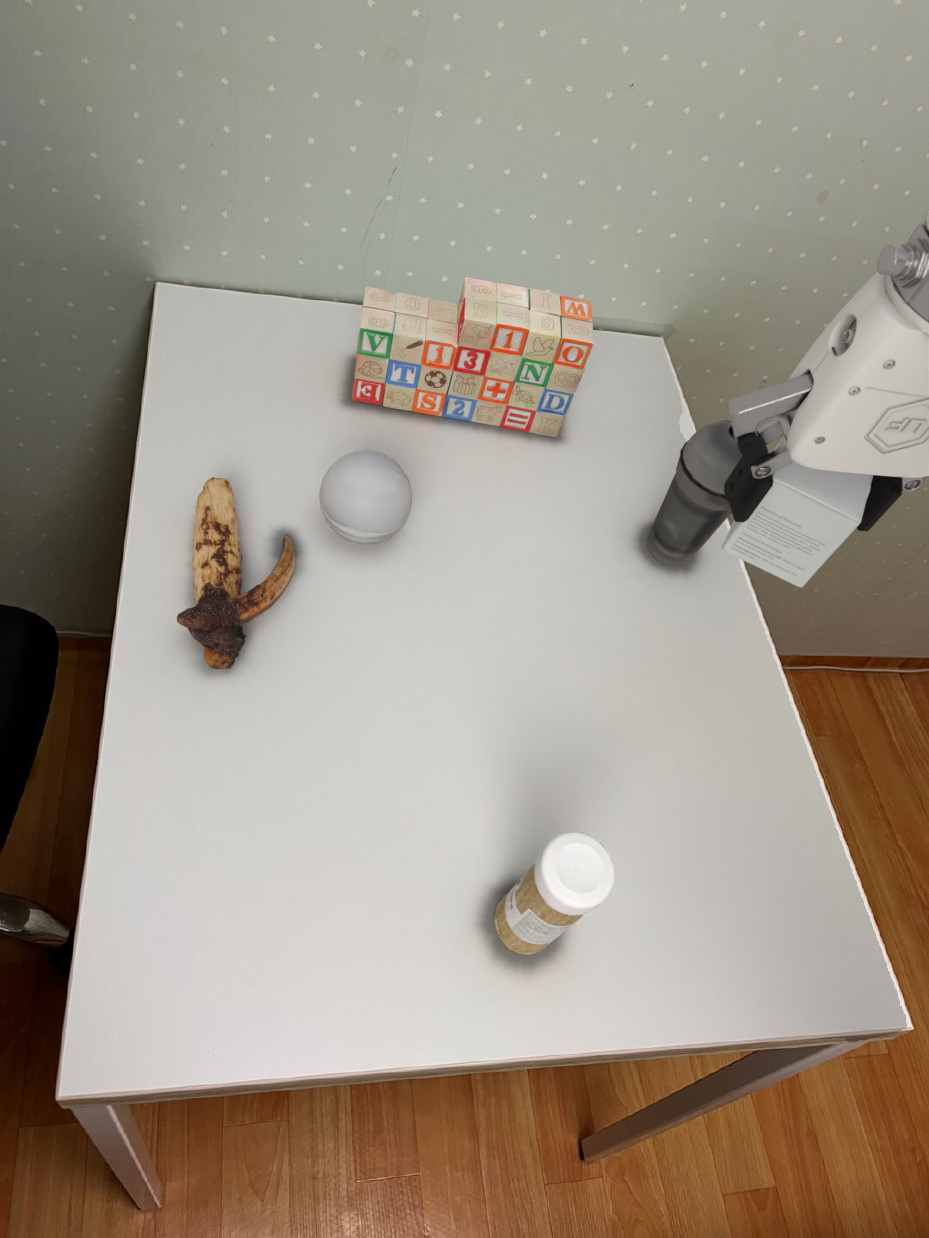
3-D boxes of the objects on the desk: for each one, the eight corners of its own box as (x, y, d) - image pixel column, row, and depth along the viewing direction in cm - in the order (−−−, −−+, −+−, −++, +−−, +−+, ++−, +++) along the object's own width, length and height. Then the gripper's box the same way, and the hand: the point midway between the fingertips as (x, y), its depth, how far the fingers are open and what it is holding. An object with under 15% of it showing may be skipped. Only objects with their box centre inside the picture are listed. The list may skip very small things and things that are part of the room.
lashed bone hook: (300, 675, 69) (291, 497, 78) (305, 646, 65) (294, 463, 74) (178, 678, 67) (182, 494, 76) (175, 648, 63) (179, 458, 72)
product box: (741, 493, 62) (792, 418, 56) (820, 531, 61) (880, 460, 55) (718, 550, 58) (770, 477, 52) (802, 591, 58) (864, 522, 52)
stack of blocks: (349, 403, 86) (360, 299, 76) (356, 361, 89) (368, 255, 79) (558, 438, 89) (595, 342, 79) (557, 396, 92) (592, 299, 82)
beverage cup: (635, 572, 81) (729, 417, 64) (630, 513, 85) (717, 352, 68) (709, 583, 82) (819, 433, 65) (700, 524, 86) (802, 368, 69)
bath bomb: (369, 479, 81) (379, 417, 74) (424, 537, 78) (438, 478, 72) (299, 515, 77) (301, 453, 71) (353, 577, 75) (361, 518, 68)
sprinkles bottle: (508, 879, 63) (559, 815, 52) (564, 910, 62) (628, 852, 51) (481, 936, 60) (529, 882, 49) (539, 969, 60) (601, 922, 49)
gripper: (837, 311, 39) (683, 547, 53) (1156, 352, 42) (930, 563, 57) (792, 213, 43) (660, 457, 57) (1087, 257, 46) (892, 477, 61)
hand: (795, 509), depth 57 cm, fingers closed on product box, 8 cm apart
